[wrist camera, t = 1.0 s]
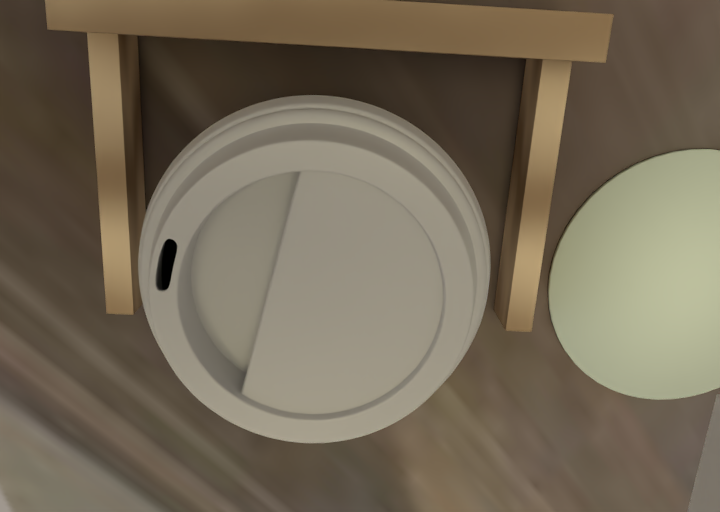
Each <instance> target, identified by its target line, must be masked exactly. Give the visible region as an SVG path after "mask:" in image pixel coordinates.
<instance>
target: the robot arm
mask: <svg viewBox="0 0 720 512" xmlns="http://www.w3.org/2000/svg"><path fill="white" fill-rule="evenodd" d="M687 512H720V394H717V397H716V401H715V404H714V408H713V412H712V416H711V420H710V424H709V428H708V432H707V436H706V440H705V444H704V448H703V452H702V456H701V460H700V464H699V468H698V472H697V476H696V480H695V484H694V488H693V492H692V496H691V500H690V504H689V507H688V511H687Z"/></svg>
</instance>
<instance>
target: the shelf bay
mask: <svg viewBox="0 0 720 512" xmlns="http://www.w3.org/2000/svg"><path fill="white" fill-rule="evenodd" d="M45 5H46V17H47V28H48V30H62V31H75V32H87V38H88V53H89V67H90V82H91V96H92V110H93V125H94V139H95V153H96V168H97V182H98V196H99V211H100V225H101V239H102V254H103V268H104V282H105V297H106V311H107V314H130V315H134V313H135V312H136V311H137V310H138V309H139V307H140V306H141V305H142V304H143V302H142V298H141V293H140V286H139V276H138V255H139V245H140V238H141V231H142V226H143V222H144V218H145V214H146V205H145V183H144V162H143V141H142V120H141V99H140V77H139V56H138V36H152V37H169V38H186V39H203V40H220V41H236V42H253V43H270V44H287V45H304V46H321V47H338V48H355V49H371V50H388V51H405V52H422V53H439V54H456V55H473V56H490V57H507V58H523V59H526V65H525V73H524V80H523V88H522V96H521V103H520V111H519V119H518V127H517V134H516V142H515V150H514V158H513V165H512V173H511V181H510V188H509V196H508V204H507V212H506V219H505V227H504V235H503V243H502V250H501V258H500V266H499V273H498V281H497V289H496V297H495V304H494V311H495V313H496V315H497V316H498V318H499V320H500V322H501V323H502V325H503V327H504V329H505V330H506V331H524V332H531V331H532V324H533V318H534V311H535V305H536V298H537V291H538V285H539V278H540V271H541V265H542V258H543V251H544V245H545V238H546V231H547V225H548V218H549V211H550V205H551V198H552V192H553V185H554V178H555V172H556V165H557V158H558V152H559V145H560V138H561V132H562V125H563V118H564V112H565V105H566V99H567V92H568V85H569V79H570V72H571V65H572V61H582V62H604V63H606V57H607V51H608V45H609V39H610V33H611V27H612V21H613V15H614V14H601V13H585V12H569V11H553V10H537V9H520V8H504V7H488V6H472V5H456V4H440V3H424V2H408V1H392V0H45Z"/></svg>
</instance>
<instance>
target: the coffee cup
mask: <svg viewBox="0 0 720 512" xmlns="http://www.w3.org/2000/svg"><path fill="white" fill-rule="evenodd" d="M138 276H139V286H140V293H141V298H142V302H143V306H144V310H145V313H146V316H147V320H148V322H149V325H150V328H151V330H152V333H153V335H154V337H155V339H156V341H157V343H158V345H159V347H160V349H161V350H162V352H163V354H164V355H165V357H166V359H167V361H168V363H169V364H170V366H171V368H172V369H173V371H174V372H175V374H176V375H177V376H178V378H179V379H180V380H181V381H182V383H183V384H184V385H185V386H186V387H187V388H188V390H189V391H190V392H191V393H192V394H193V395H194V396H195V397H196V398H197V399H199V400H200V401H201V402H202V403H203V404H204V405H206V406H207V407H208V408H209V409H211V410H212V411H213V412H215V413H216V414H218V415H219V416H221V417H223V418H224V419H226V420H228V421H229V422H231V423H233V424H235V425H237V426H239V427H241V428H243V429H246V430H248V431H251V432H253V433H256V434H259V435H262V436H266V437H269V438H273V439H278V440H283V441H290V442H298V443H328V442H337V441H344V440H349V439H353V438H357V437H361V436H364V435H368V434H371V433H373V432H376V431H378V430H381V429H383V428H385V427H387V426H389V425H391V424H393V423H395V422H397V421H399V420H400V419H402V418H404V417H405V416H407V415H408V414H410V413H411V412H413V411H414V410H415V409H417V408H418V407H419V406H420V405H421V404H423V403H424V402H425V401H426V400H427V399H428V398H429V397H430V396H431V395H432V394H433V393H434V392H435V391H436V390H437V389H438V388H439V387H440V386H441V385H442V384H443V383H444V382H445V381H446V379H447V378H448V377H449V376H450V375H451V374H452V372H453V371H454V370H455V368H456V367H457V366H458V364H459V363H460V361H461V360H462V358H463V357H464V355H465V354H466V352H467V350H468V349H469V347H470V345H471V343H472V341H473V339H474V337H475V335H476V333H477V330H478V328H479V325H480V323H481V320H482V317H483V313H484V310H485V306H486V301H487V295H488V288H489V280H490V247H489V239H488V233H487V229H486V225H485V221H484V217H483V214H482V211H481V208H480V206H479V203H478V201H477V199H476V196H475V194H474V192H473V190H472V188H471V187H470V185H469V183H468V181H467V180H466V178H465V176H464V175H463V173H462V172H461V170H460V169H459V168H458V166H457V165H456V164H455V162H454V161H453V160H452V159H451V158H450V156H449V155H448V154H447V153H446V152H445V151H444V150H443V149H442V148H441V147H440V146H439V145H438V144H437V143H436V142H435V141H434V140H432V139H431V138H430V137H429V136H428V135H426V134H425V133H424V132H423V131H421V130H420V129H418V128H417V127H415V126H414V125H412V124H411V123H409V122H408V121H406V120H404V119H403V118H401V117H399V116H397V115H395V114H393V113H391V112H389V111H386V110H384V109H382V108H379V107H376V106H374V105H371V104H367V103H364V102H361V101H357V100H352V99H348V98H342V97H335V96H325V95H300V96H290V97H282V98H277V99H272V100H268V101H264V102H261V103H257V104H254V105H251V106H249V107H246V108H243V109H241V110H239V111H236V112H234V113H232V114H230V115H228V116H226V117H225V118H223V119H221V120H219V121H218V122H216V123H214V124H213V125H211V126H210V127H209V128H207V129H206V130H204V131H203V132H202V133H201V134H199V135H198V136H197V137H196V138H195V139H193V140H192V141H191V142H190V143H189V144H188V145H187V146H186V147H185V148H184V149H183V150H182V151H181V152H180V153H179V155H178V156H177V157H176V158H175V159H174V161H173V162H172V163H171V165H170V166H169V167H168V169H167V170H166V172H165V173H164V175H163V176H162V178H161V180H160V181H159V183H158V185H157V187H156V189H155V191H154V193H153V195H152V198H151V200H150V203H149V205H148V208H147V211H146V214H145V218H144V222H143V226H142V231H141V238H140V245H139V255H138Z"/></svg>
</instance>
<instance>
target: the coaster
mask: <svg viewBox="0 0 720 512" xmlns="http://www.w3.org/2000/svg"><path fill="white" fill-rule="evenodd" d="M548 306H549V311H550V316H551V321H552V324H553V327H554V330H555V332H556V335H557V337H558V339H559V341H560V343H561V344H562V346H563V348H564V350H565V351H566V352H567V354H568V355H569V356H570V358H571V359H572V360H573V362H574V363H575V364H576V365H577V366H578V367H579V368H580V369H581V370H582V371H583V372H584V373H585V374H587V375H588V376H589V377H591V378H592V379H594V380H595V381H596V382H598V383H600V384H602V385H603V386H605V387H607V388H609V389H611V390H614V391H617V392H619V393H622V394H625V395H629V396H634V397H638V398H646V399H677V398H684V397H690V396H694V395H698V394H702V393H706V392H708V391H711V390H714V389H717V388H719V387H720V150H713V149H687V150H680V151H673V152H668V153H665V154H661V155H657V156H654V157H651V158H649V159H646V160H644V161H641V162H639V163H636V164H634V165H632V166H631V167H629V168H627V169H625V170H623V171H622V172H620V173H618V174H617V175H615V176H614V177H613V178H611V179H610V180H608V181H607V182H606V183H604V184H603V185H602V186H601V187H600V188H599V189H597V190H596V191H595V192H594V193H593V194H592V195H591V196H590V197H589V198H588V199H587V200H586V201H585V202H584V204H583V205H582V206H581V207H580V208H579V209H578V210H577V212H576V213H575V215H574V216H573V218H572V219H571V221H570V222H569V224H568V225H567V227H566V229H565V231H564V232H563V234H562V236H561V238H560V240H559V242H558V245H557V248H556V250H555V253H554V256H553V259H552V264H551V268H550V272H549V281H548Z"/></svg>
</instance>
